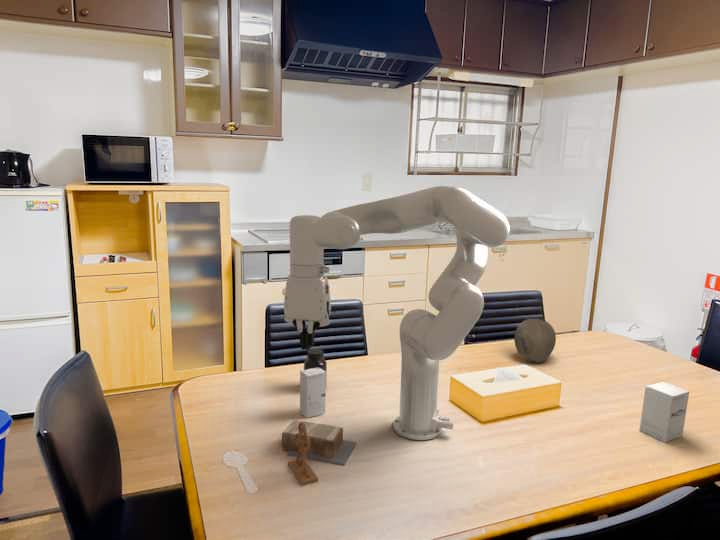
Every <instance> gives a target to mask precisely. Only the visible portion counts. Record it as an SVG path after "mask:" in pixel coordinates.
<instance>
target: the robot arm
mask: <svg viewBox="0 0 720 540" xmlns="http://www.w3.org/2000/svg"><path fill="white" fill-rule="evenodd" d="M437 223H445V224H449V225H452V226H454V227H453V228H454V233H455V236H456V237H455V238H456V249H455V253H454V255H453V257H452V258H451V260H450V261H449V263H447V265H446V267H445V268H444V270H443V271H442V272H441V274H440V275H439V276H438V278H437V279H436V281H435V282H434V283H433V284H432V286H431V287H430V289H429V291H428V294H427V295H428V296H427V297H428V302H429V304H430V305H431V307H432V308H434V309H435V310H436V311H438V313H437V315H436V314H434V313H432V312H430V311H428V310H426V309H423V308H422V309H421V308H416V309H413V310H410V311H408V312H407V313H406V314H404V316H403V317H402V319H401V322H400V324H399V341H400V342H399V343H400V350H401V368H400V388H399V389H400V394H399V395H400V397H399V416H397V417H396V418H395V419H394V420H393V421H392V428H393V431H394V432H396V433H397V434H398V435H399V436H401V437H403V438H406V439H410V440H413V441H427V440H433V439H434V438H437V437H439V436H440V435H441V433H442V432H443V429H447V430H454V423H455V422H454V421H451V419H450V417H447V416H445V417H444V416H442V415H440V409H438V393H439V391H438V390H439V375H440V373H439V372H440V361H443V360H446V359H448V358H450V357H451V356H452V355H453V354H454V353H455V352H456V350H457V349H458V348H459V347H460V345H461V344H462V343H463V341H465V339H466V338H467V335H468V334H469V333H470V331H472V329H473V328H474V327H475V324H477V322H478V321H479V319H480V318H481V316H482V313H483V310H484V307H485V300H484V299H485V298H484V295H483V293H482V291H481V290H480V289H479V288H478V287H477V286H476V285H477V284H478V283H479V281H480V279H481V277H482V276H483V274H484V273H485V271H486V269H487V265H488V260H489V259H488V258H489V255H488V251H489V250H488V248H497V247H500V246H501V245H502V244H504V243H505V242H506V241H507V239H508V237H509V235H510V224H509V221H508V219H507V217H506V216H505V215H504V214H503V213H501V212H500V211H499V210H497V209H495V208H494V207H493V206H491V205H490V204H488V203H486V202H485V201H483V200H482V199H480V198H479V197H477V196H476V195H474V194H472V193H471V192H470V191H468V190H466V189H464V188H462V187H458V186H449V185H448V186H445V185H439V186H438V185H437V186H432V187H429V188H424V189H421V190H420V189H419V190H417V191H414V192H408V193H406V194H402V195H397V196H394V197H389V198H384V199H379V200H375V201H371V202H366V203H360V204H355V205H351V206H347V207H343V208H339V209H335V210H332V211H329V212H327V213H325V214H323V215H322V216H321V217H320V216H317V215H309V214H307V215H306V214H305V215H302V214H300V215H294V216H292V217H291V218H290V220H289V275H287V279H286V283H285V290H284V300H283V301H284V303H283V313H284V321H285V322H286V323H289V324H290V325H291V324H292V325H293V326H294V327H295V328H296V329H297V332H298V333H299V344H300V346H301V347H300V348H301V350H306V351H308V350H310V349H312V348H313V346H314V344H315V331H316V330H317V329H318V328H321V327H326V326H329V325H330V323H331V321H330V317H329V316H331V312H332V306H331V305H332V304H331V303H332V302H331V292H330V285H329V284H330V283H329V279H328V276H326V275H325V274H330V266H325V262H324V260H325V259H324V251H325V248H326V249H335V250H347V249H351V248H353V247H355V246H356V244H357V243H358V242H359V241H360V238H361V236H362V235H369V234H389V235H391V234H394V235H395V234H401V233H405V232H409V231H412V230H415V229H420V228H423V227H426V226H430V225H434V224H437ZM307 321H308V323H307Z"/></svg>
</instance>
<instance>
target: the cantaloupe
mask: <svg viewBox="0 0 720 540" xmlns="http://www.w3.org/2000/svg"><path fill="white" fill-rule="evenodd" d="M556 338H557V336H556V331H555V329H554V327H553V326H552V325H551V323H549V322H548V321H547V320H545V319H544V320H543V319H540V318H528V319H523V321H522V322H520V323H519V324H518V326H517V327H516V329H515V331H514V346H515V349H516V350H517V351H516V352H518V354H519V355H520V356H521V357H522V358H523V359H524V360H525V361H528V362H531V363H541V362H543V361H545V360H546V359H548V358H549V357H550V355H551V354H552V353H553V351H554V348H555V346H556V341H557V339H556Z"/></svg>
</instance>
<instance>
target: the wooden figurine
mask: <svg viewBox="0 0 720 540" xmlns="http://www.w3.org/2000/svg"><path fill="white" fill-rule="evenodd" d="M301 425H302V426H301ZM298 430H299V433H297V434H296V435H295V444H296V446H299V452H298V455H297V457H296V459H292V460H290V461H288V462H287V466H288V468H289V469H290V471H291V473H292V474H293V476H294V477H295V479H296V480H297V481H298V483H299V485H300V486H301V487H304V486H308V485H312V484H314V483H318V482H319V477H318V476H317V474H316V473H315V471H313V468H312V467H311V466H310V465H309V463H308V459H307V458H306V450H309V449H310V446H311V441H310V438H309V437H307V430H306V426H305V424H304V423H303V422H300V423H299V425H298ZM303 433H304V434H303ZM298 435H299V437H300V441H299V438H298ZM304 443H306V444H307V448H306V447H304ZM301 454H302V455H303V457H300V455H301Z"/></svg>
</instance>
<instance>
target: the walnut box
mask: <svg viewBox="0 0 720 540" xmlns="http://www.w3.org/2000/svg"><path fill="white" fill-rule="evenodd" d="M300 422H303V423H304V424H305V426H306V430H307V437H309V438H310V441H311V446H310V449H309V450H306V453H308V454H314V455H319V456H325V457H331V458H334V457H335V455H336V454H337V452H338V450H339V449H340V447H341V445H342V444H343V440H344V427H342V426H337V425H331V424H324V423H316V422H311V421H306V420H298V419H293V420H292V421H291V422H290V423H289V425H288V426H287V427H285V429H284V430H283V432H282V433H281V449H282V450H285V451H290V450H291V451H297V452H299V446H296V444H295V435H296V434H297V433H299V430H298V425H299V423H300ZM301 426H302V425H301ZM303 434H304V433H303ZM298 438H299V441H300V437H299V435H298ZM304 447H306V448H307V444H306V443H304Z"/></svg>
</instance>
